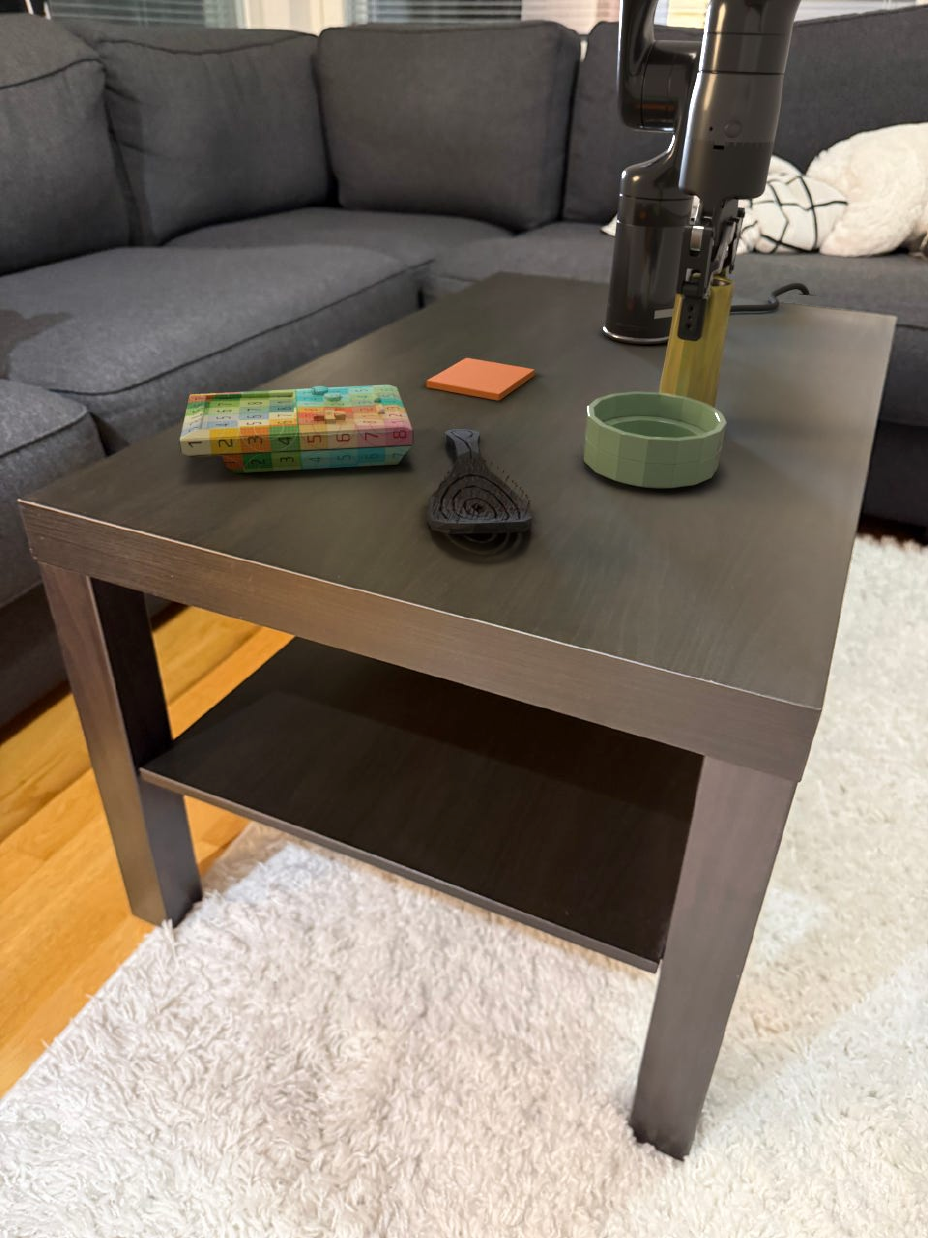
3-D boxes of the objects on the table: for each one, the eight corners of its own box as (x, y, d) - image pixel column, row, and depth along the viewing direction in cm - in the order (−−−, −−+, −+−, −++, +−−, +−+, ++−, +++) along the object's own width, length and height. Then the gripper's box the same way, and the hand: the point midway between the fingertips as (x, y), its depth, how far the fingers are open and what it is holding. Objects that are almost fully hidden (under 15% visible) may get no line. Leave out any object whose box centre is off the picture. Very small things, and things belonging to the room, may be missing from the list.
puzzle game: (413, 420, 76) (177, 430, 73) (413, 469, 79) (185, 482, 76) (397, 377, 86) (187, 385, 83) (398, 423, 88) (195, 432, 85)
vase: (713, 438, 87) (741, 289, 79) (651, 432, 88) (673, 284, 80) (711, 417, 92) (737, 275, 84) (652, 412, 93) (673, 271, 85)
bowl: (607, 432, 88) (612, 383, 85) (728, 456, 83) (738, 405, 80) (563, 476, 78) (568, 423, 76) (696, 505, 74) (707, 450, 71)
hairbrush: (501, 408, 85) (545, 510, 63) (500, 444, 87) (542, 556, 65) (416, 409, 84) (431, 513, 63) (417, 446, 86) (431, 559, 64)
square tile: (466, 363, 105) (466, 357, 105) (534, 375, 102) (535, 369, 102) (426, 387, 98) (426, 380, 98) (498, 401, 95) (499, 393, 94)
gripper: (707, 126, 82) (679, 310, 91) (665, 137, 71) (637, 343, 81) (788, 131, 79) (751, 320, 89) (757, 142, 69) (718, 356, 78)
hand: (697, 330), depth 85 cm, fingers open, 6 cm apart
